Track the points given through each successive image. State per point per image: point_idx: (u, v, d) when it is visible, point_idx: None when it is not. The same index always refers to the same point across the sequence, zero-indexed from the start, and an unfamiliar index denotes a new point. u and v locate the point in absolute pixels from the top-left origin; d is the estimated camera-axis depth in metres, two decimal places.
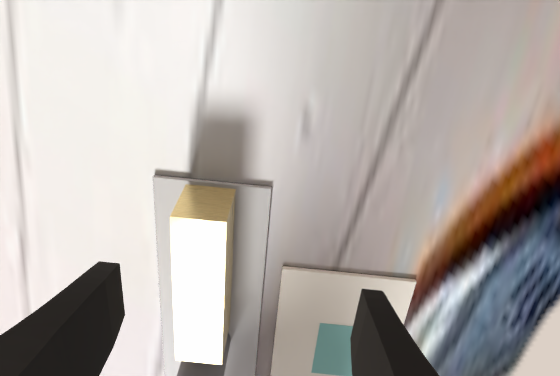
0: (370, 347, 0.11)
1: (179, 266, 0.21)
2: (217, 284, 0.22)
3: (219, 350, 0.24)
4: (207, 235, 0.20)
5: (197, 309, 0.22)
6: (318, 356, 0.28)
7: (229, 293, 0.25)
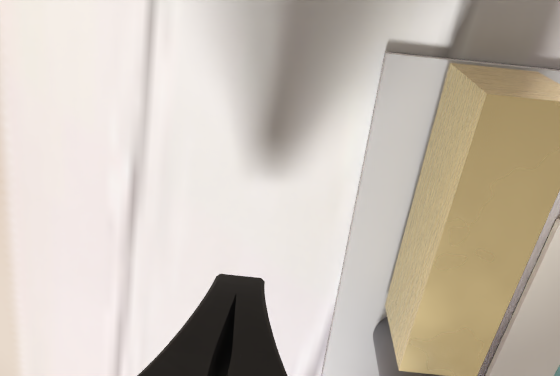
0: None
1: (467, 200, 0.12)
2: (526, 235, 0.12)
3: (480, 355, 0.14)
4: (547, 135, 0.11)
5: (470, 283, 0.13)
6: None
7: None
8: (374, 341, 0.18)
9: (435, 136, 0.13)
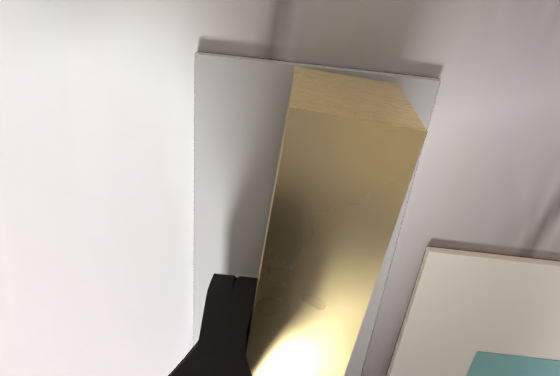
0: None
1: (284, 236, 0.09)
2: (360, 282, 0.10)
3: None
4: (371, 164, 0.08)
5: (302, 332, 0.11)
6: None
7: None
8: None
9: (279, 153, 0.11)
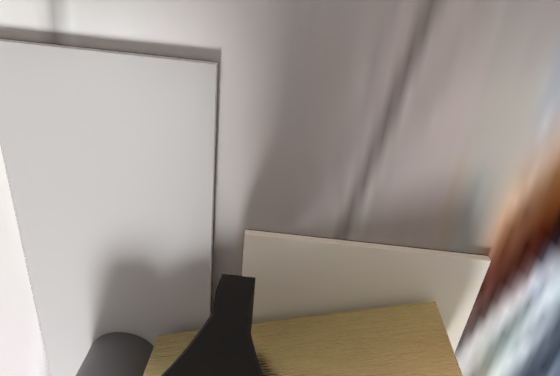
0: None
1: None
2: None
3: None
4: None
5: None
6: None
7: None
8: None
9: (370, 319, 0.14)
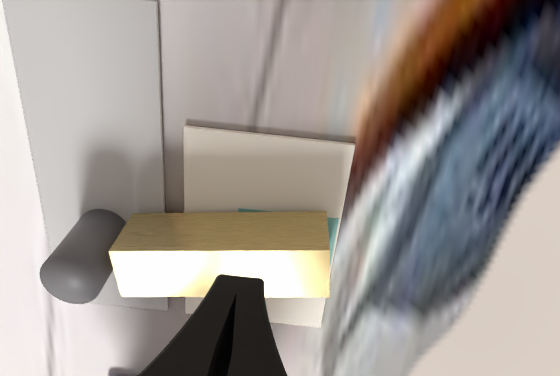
0: None
1: (262, 257, 0.19)
2: None
3: (143, 293, 0.20)
4: (309, 282, 0.19)
5: (202, 274, 0.19)
6: None
7: None
8: None
9: (281, 216, 0.21)
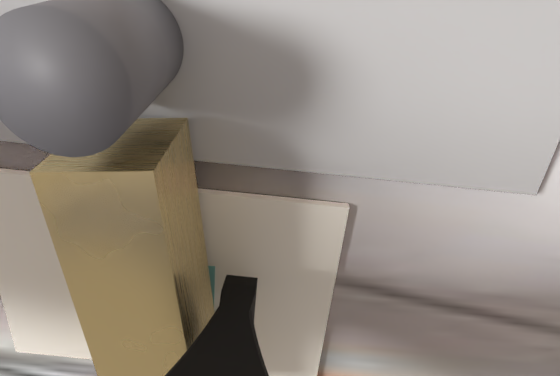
0: None
1: None
2: (106, 366, 0.12)
3: (51, 215, 0.09)
4: None
5: (130, 315, 0.11)
6: None
7: None
8: None
9: None
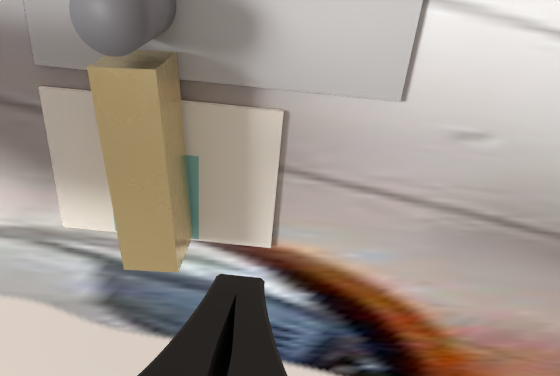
0: None
1: (164, 220, 0.19)
2: (119, 201, 0.19)
3: (96, 94, 0.17)
4: (139, 255, 0.20)
5: (136, 164, 0.18)
6: None
7: None
8: None
9: (187, 204, 0.22)
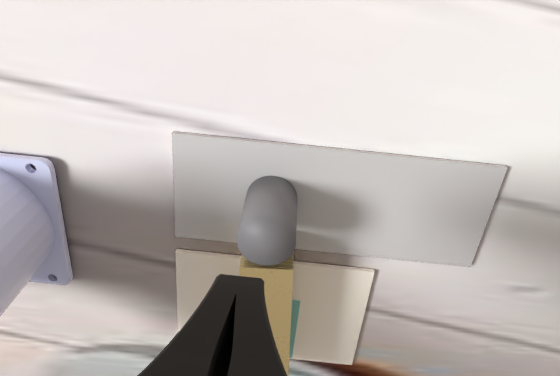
0: None
1: None
2: None
3: None
4: None
5: None
6: None
7: None
8: (271, 179, 0.22)
9: None
